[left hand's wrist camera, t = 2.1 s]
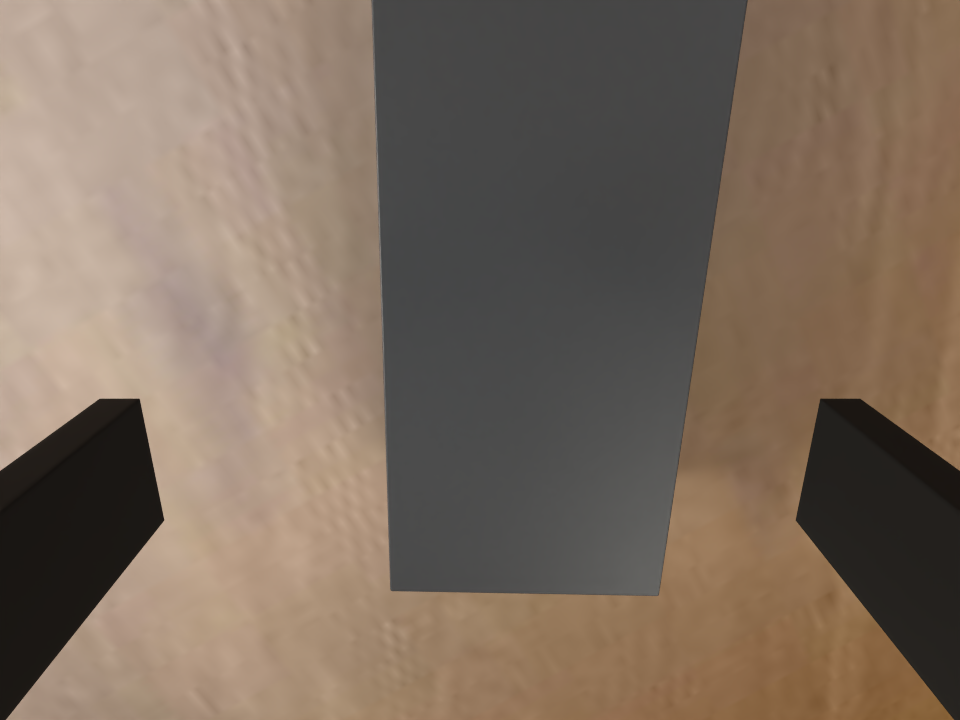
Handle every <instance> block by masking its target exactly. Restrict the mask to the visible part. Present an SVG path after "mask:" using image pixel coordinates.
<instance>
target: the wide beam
mask: <svg viewBox="0 0 960 720" xmlns="http://www.w3.org/2000/svg"><path fill="white" fill-rule="evenodd" d="M746 7H747V0H372V27H373V59H374V90H375V122H376V153H377V184H378V216H379V247H380V278H381V310H382V341H383V373H384V404H385V435H386V467H387V498H388V529H389V561H390V590H391V591H420V592H474V593H528V594H582V595H636V596H658V595H659V590H660V583H661V577H662V570H663V563H664V556H665V550H666V543H667V536H668V530H669V523H670V516H671V509H672V503H673V496H674V489H675V483H676V476H677V469H678V463H679V456H680V449H681V442H682V436H683V429H684V422H685V416H686V409H687V402H688V396H689V389H690V382H691V375H692V369H693V362H694V355H695V349H696V342H697V335H698V329H699V322H700V315H701V308H702V302H703V295H704V288H705V282H706V275H707V268H708V261H709V255H710V248H711V241H712V235H713V228H714V221H715V215H716V208H717V201H718V194H719V188H720V181H721V174H722V168H723V161H724V154H725V148H726V141H727V134H728V127H729V121H730V114H731V107H732V101H733V94H734V87H735V80H736V74H737V67H738V60H739V54H740V47H741V40H742V34H743V27H744V20H745V13H746Z"/></svg>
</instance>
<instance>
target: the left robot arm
mask: <svg viewBox="0 0 960 720" xmlns="http://www.w3.org/2000/svg"><path fill="white" fill-rule="evenodd" d="M163 521H164V517H163V512H162V507H161V502H160V497H159V492H158V487H157V482H156V477H155V472H154V467H153V462H152V458H151V453H150V448H149V443H148V438H147V433H146V428H145V423H144V418H143V413H142V408H141V403H140V399H99V400H97V401H96V402H95V403H93V404H92V405H91V406H89V407H88V408H86V409H85V410H84V411H82V412H81V413H80V414H78V415H77V416H75V417H74V418H73V419H71V420H70V421H69V422H67V423H66V424H64V425H63V426H62V427H60V428H59V429H58V430H56V431H55V432H53V433H52V434H51V435H49V436H48V437H46V438H45V439H44V440H42V441H41V442H40V443H38V444H37V445H35V446H34V447H33V448H31V449H30V450H29V451H27V452H26V453H24V454H23V455H22V456H20V457H19V458H18V459H16V460H15V461H13V462H12V463H11V464H9V465H8V466H7V467H5V468H4V469H2V470H1V471H0V720H6V719H7V718H8V716H9V715H10V714H11V713H12V711H13V710H14V709H15V708H16V706H17V705H18V704H19V702H20V701H21V700H22V699H23V697H24V696H25V695H26V694H27V692H28V691H29V690H30V689H31V687H32V686H33V685H34V684H35V682H36V681H37V680H38V679H39V677H40V676H41V675H42V674H43V672H44V671H45V670H46V668H47V667H48V666H49V665H50V663H51V662H52V661H53V660H54V658H55V657H56V656H57V655H58V653H59V652H60V651H61V650H62V648H63V647H64V646H65V645H66V643H67V642H68V641H69V640H70V638H71V637H72V636H73V635H74V633H75V632H76V631H77V629H78V628H79V627H80V626H81V624H82V623H83V622H84V621H85V619H86V618H87V617H88V616H89V614H90V613H91V612H92V611H93V609H94V608H95V607H96V606H97V604H98V603H99V602H100V601H101V599H102V598H103V597H104V596H105V594H106V593H107V592H108V590H109V589H110V588H111V587H112V585H113V584H114V583H115V582H116V580H117V579H118V578H119V577H120V575H121V574H122V573H123V572H124V570H125V569H126V568H127V567H128V565H129V564H130V563H131V562H132V560H133V559H134V558H135V557H136V555H137V554H138V553H139V551H140V550H141V549H142V548H143V546H144V545H145V544H146V543H147V541H148V540H149V539H150V538H151V536H152V535H153V534H154V533H155V531H156V530H157V529H158V528H159V526H160V525H161V524H162V523H163ZM796 521H797V523H798V524H799V525H800V526H801V528H802V529H803V530H804V531H805V533H806V534H807V535H808V536H809V538H810V539H811V540H812V541H813V543H814V544H815V545H816V546H817V548H818V549H819V550H820V551H821V553H822V554H823V555H824V557H825V558H826V559H827V560H828V562H829V563H830V564H831V565H832V567H833V568H834V569H835V570H836V572H837V573H838V574H839V575H840V577H841V578H842V579H843V580H844V582H845V583H846V584H847V585H848V587H849V588H850V589H851V590H852V592H853V593H854V594H855V596H856V597H857V598H858V599H859V601H860V602H861V603H862V604H863V606H864V607H865V608H866V609H867V611H868V612H869V613H870V614H871V616H872V617H873V618H874V619H875V621H876V622H877V623H878V624H879V626H880V627H881V628H882V629H883V631H884V632H885V633H886V635H887V636H888V637H889V638H890V640H891V641H892V642H893V643H894V645H895V646H896V647H897V648H898V650H899V651H900V652H901V653H902V655H903V656H904V657H905V658H906V660H907V661H908V662H909V663H910V665H911V666H912V667H913V668H914V670H915V671H916V672H917V674H918V675H919V676H920V677H921V679H922V680H923V681H924V682H925V684H926V685H927V686H928V687H929V689H930V690H931V691H932V692H933V694H934V695H935V696H936V697H937V699H938V700H939V701H940V702H941V704H942V705H943V706H944V708H945V709H946V710H947V711H948V713H949V714H950V715H951V716H952V718H953V719H954V720H960V471H959V470H958V469H956V468H955V467H953V466H952V465H951V464H949V463H948V462H947V461H945V460H944V459H942V458H941V457H940V456H938V455H937V454H936V453H934V452H933V451H931V450H930V449H929V448H927V447H926V446H925V445H923V444H922V443H920V442H919V441H918V440H916V439H915V438H914V437H912V436H911V435H909V434H908V433H907V432H905V431H904V430H902V429H901V428H900V427H898V426H897V425H896V424H894V423H893V422H891V421H890V420H889V419H887V418H886V417H885V416H883V415H882V414H880V413H879V412H878V411H876V410H875V409H874V408H872V407H871V406H869V405H868V404H867V403H865V402H864V401H863V400H861V399H820V403H819V408H818V413H817V418H816V423H815V428H814V433H813V438H812V443H811V448H810V453H809V458H808V462H807V467H806V472H805V477H804V482H803V487H802V492H801V497H800V502H799V507H798V512H797V517H796Z"/></svg>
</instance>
